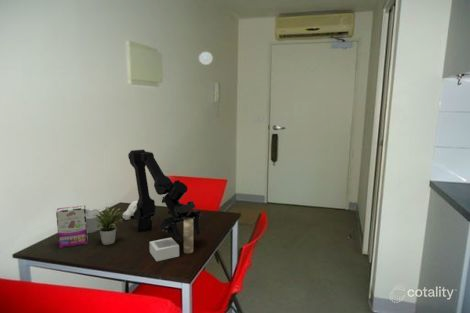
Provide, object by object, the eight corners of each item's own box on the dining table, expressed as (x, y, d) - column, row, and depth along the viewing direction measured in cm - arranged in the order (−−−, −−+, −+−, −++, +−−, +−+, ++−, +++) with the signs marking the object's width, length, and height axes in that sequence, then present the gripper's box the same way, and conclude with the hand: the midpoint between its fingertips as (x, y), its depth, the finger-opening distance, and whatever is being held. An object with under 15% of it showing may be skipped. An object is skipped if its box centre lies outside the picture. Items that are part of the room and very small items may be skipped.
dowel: (184, 253, 131) (184, 221, 129) (183, 249, 135) (182, 218, 133) (194, 252, 132) (194, 220, 130) (192, 248, 136) (192, 217, 134)
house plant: (108, 252, 131) (106, 214, 129) (82, 247, 136) (80, 210, 133) (131, 239, 144) (130, 205, 142) (106, 235, 149) (105, 201, 147)
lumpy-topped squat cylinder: (89, 233, 150) (88, 216, 149) (71, 228, 156) (70, 211, 155) (107, 226, 159) (106, 210, 158) (89, 222, 165) (88, 206, 164)
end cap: (149, 252, 132) (149, 241, 132) (171, 247, 137) (171, 237, 136) (156, 261, 124) (156, 250, 124) (179, 256, 129) (179, 245, 128)
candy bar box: (87, 240, 143) (86, 204, 141) (87, 244, 139) (85, 208, 136) (59, 243, 139) (57, 207, 136) (58, 248, 134) (55, 211, 132)
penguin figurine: (143, 200, 175) (126, 208, 165) (144, 214, 177) (128, 223, 167) (135, 198, 178) (118, 206, 168) (136, 212, 180) (119, 221, 170)
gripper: (163, 200, 126) (181, 234, 120) (199, 191, 140) (216, 222, 134) (152, 214, 133) (168, 247, 127) (187, 205, 146) (203, 234, 140)
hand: (190, 237), depth 132 cm, fingers open, 9 cm apart
